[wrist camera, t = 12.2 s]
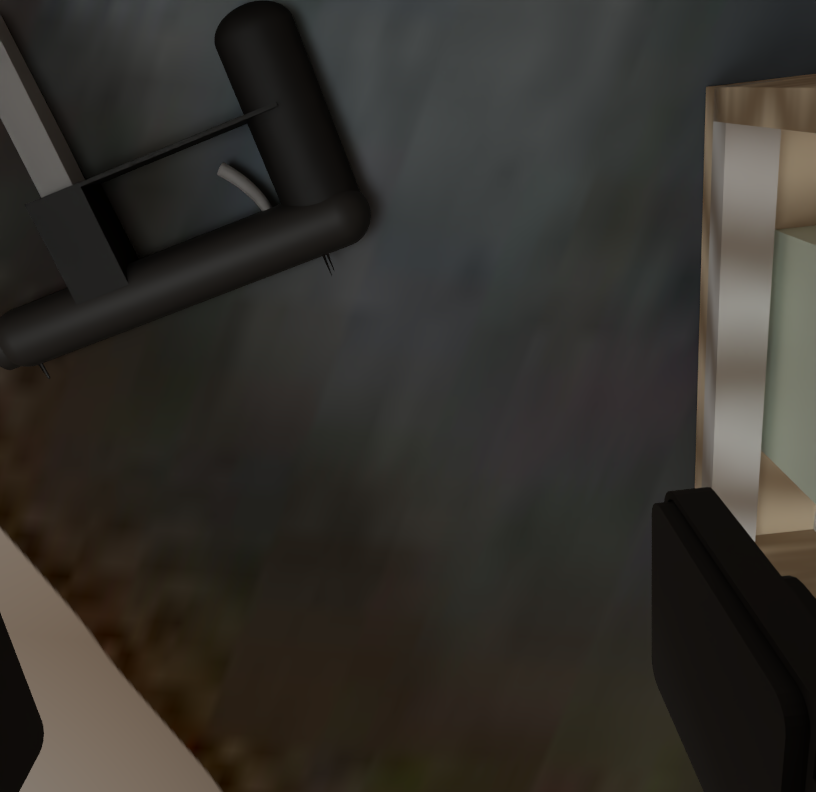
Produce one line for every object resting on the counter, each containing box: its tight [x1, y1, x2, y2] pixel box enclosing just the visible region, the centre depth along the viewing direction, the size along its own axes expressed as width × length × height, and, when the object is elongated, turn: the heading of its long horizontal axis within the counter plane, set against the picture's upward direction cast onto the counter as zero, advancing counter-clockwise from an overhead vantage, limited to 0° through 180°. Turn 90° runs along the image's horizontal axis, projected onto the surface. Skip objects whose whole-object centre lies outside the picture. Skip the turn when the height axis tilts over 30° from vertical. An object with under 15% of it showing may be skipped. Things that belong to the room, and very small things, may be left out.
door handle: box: [0, 1, 371, 379], centre depth 37 cm, size 3×20×16 cm
